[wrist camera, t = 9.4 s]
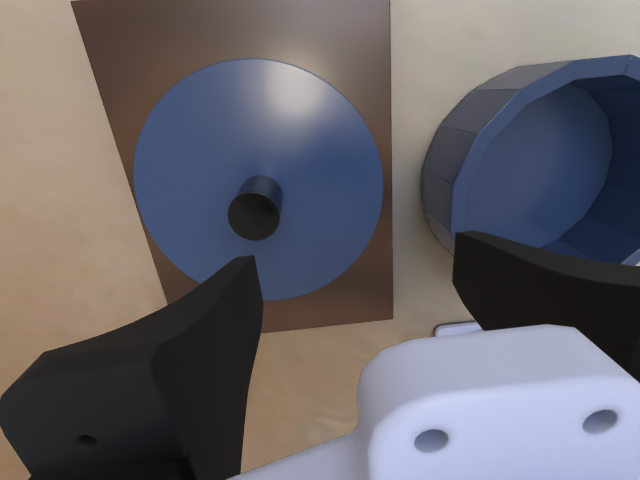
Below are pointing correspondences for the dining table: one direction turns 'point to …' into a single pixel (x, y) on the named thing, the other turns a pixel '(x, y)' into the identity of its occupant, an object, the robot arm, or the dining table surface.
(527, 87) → the tin
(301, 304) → the board
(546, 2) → the dining table surface
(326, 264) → the lid
